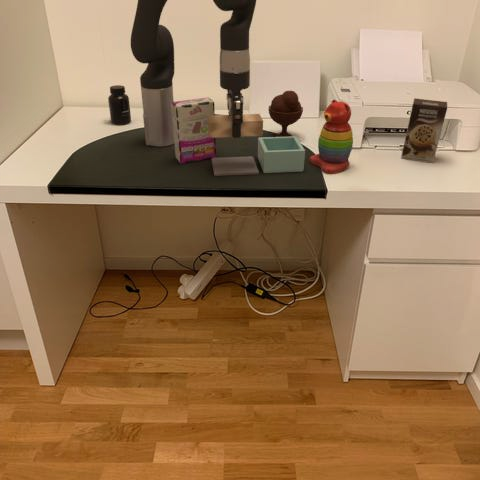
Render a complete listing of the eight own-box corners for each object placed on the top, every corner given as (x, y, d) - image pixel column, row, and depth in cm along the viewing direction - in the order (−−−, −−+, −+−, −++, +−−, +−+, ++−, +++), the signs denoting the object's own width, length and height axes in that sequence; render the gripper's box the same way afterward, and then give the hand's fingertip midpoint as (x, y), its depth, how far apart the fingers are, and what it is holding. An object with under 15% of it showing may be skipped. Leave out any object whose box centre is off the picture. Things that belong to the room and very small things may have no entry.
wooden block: (209, 137, 122) (209, 122, 120) (208, 130, 127) (207, 115, 125) (262, 135, 124) (263, 120, 122) (259, 128, 129) (259, 113, 127)
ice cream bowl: (300, 132, 155) (304, 85, 147) (300, 144, 146) (304, 95, 137) (268, 130, 156) (270, 84, 148) (266, 142, 146) (268, 94, 138)
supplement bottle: (129, 125, 159) (124, 89, 152) (109, 125, 159) (103, 89, 152) (133, 119, 164) (129, 84, 158) (114, 119, 165) (109, 84, 158)
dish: (263, 173, 127) (264, 152, 124) (257, 157, 137) (258, 137, 133) (303, 171, 129) (305, 150, 125) (294, 155, 138) (296, 136, 134)
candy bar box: (210, 151, 140) (208, 96, 131) (216, 157, 136) (215, 101, 127) (174, 157, 136) (170, 101, 127) (180, 164, 132) (176, 106, 123)
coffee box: (400, 158, 137) (412, 103, 128) (402, 151, 142) (413, 97, 133) (433, 163, 134) (447, 107, 125) (434, 155, 139) (447, 100, 130)
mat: (214, 175, 125) (214, 173, 125) (211, 159, 135) (211, 157, 134) (258, 174, 127) (258, 172, 126) (252, 158, 136) (252, 156, 136)
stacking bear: (306, 160, 135) (311, 98, 125) (335, 155, 138) (343, 94, 129) (327, 175, 127) (334, 110, 117) (357, 169, 130) (367, 105, 120)
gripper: (217, 61, 122) (218, 124, 131) (222, 75, 110) (223, 143, 119) (245, 61, 123) (245, 123, 132) (254, 74, 111) (252, 142, 120)
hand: (235, 132), depth 125 cm, fingers closed on wooden block, 6 cm apart
